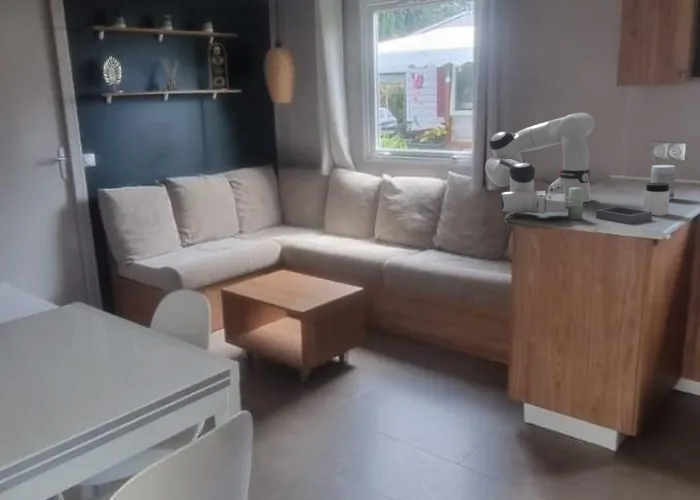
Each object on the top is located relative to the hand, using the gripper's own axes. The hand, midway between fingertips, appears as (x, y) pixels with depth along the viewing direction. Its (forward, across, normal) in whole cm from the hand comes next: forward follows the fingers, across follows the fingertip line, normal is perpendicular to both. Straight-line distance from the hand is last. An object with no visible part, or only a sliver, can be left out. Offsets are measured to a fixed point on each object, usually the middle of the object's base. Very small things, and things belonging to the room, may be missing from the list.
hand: (578, 202), depth 256 cm
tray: (+17, -1, -6) cm, 18 cm away
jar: (+30, -12, -7) cm, 33 cm away
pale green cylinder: (-1, 0, -6) cm, 7 cm away
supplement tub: (+36, -48, -7) cm, 60 cm away
